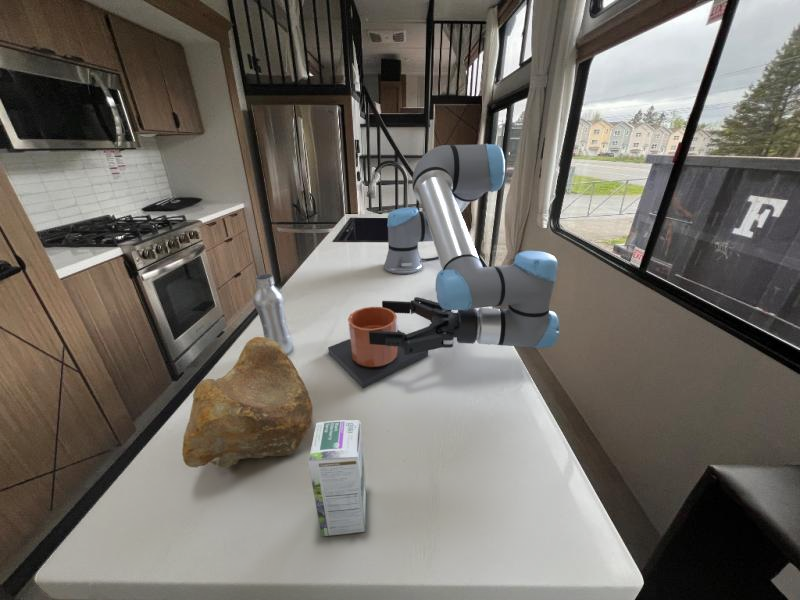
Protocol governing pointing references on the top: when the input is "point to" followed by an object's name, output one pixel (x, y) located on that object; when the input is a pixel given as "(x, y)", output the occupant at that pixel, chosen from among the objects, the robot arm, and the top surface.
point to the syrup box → (338, 477)
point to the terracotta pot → (359, 336)
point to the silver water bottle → (272, 312)
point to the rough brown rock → (248, 410)
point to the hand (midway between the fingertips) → (376, 320)
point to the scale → (371, 374)
